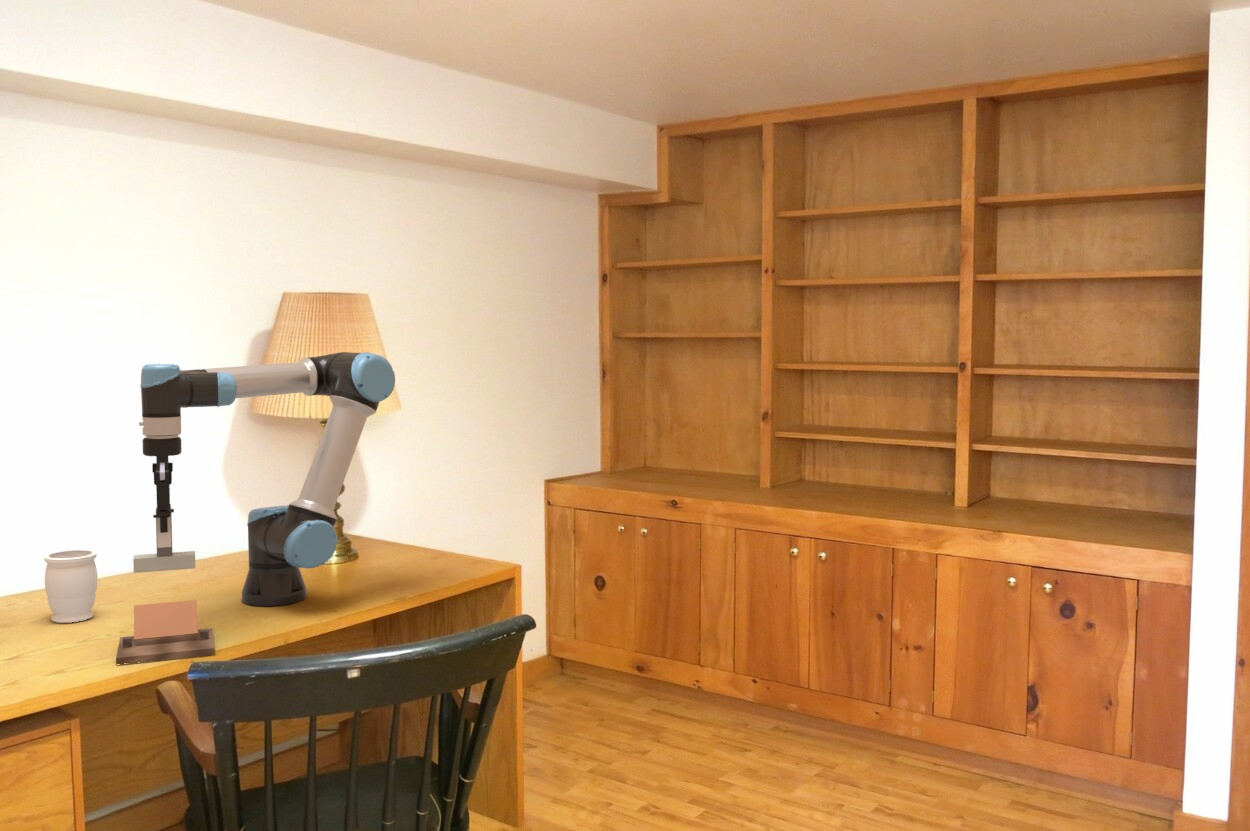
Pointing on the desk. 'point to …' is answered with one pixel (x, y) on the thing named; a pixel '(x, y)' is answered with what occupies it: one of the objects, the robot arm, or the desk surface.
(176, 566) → the paddle
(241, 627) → the desk surface
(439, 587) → the desk surface
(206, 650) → the board
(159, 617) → the tile
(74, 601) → the jar
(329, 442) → the robot arm
